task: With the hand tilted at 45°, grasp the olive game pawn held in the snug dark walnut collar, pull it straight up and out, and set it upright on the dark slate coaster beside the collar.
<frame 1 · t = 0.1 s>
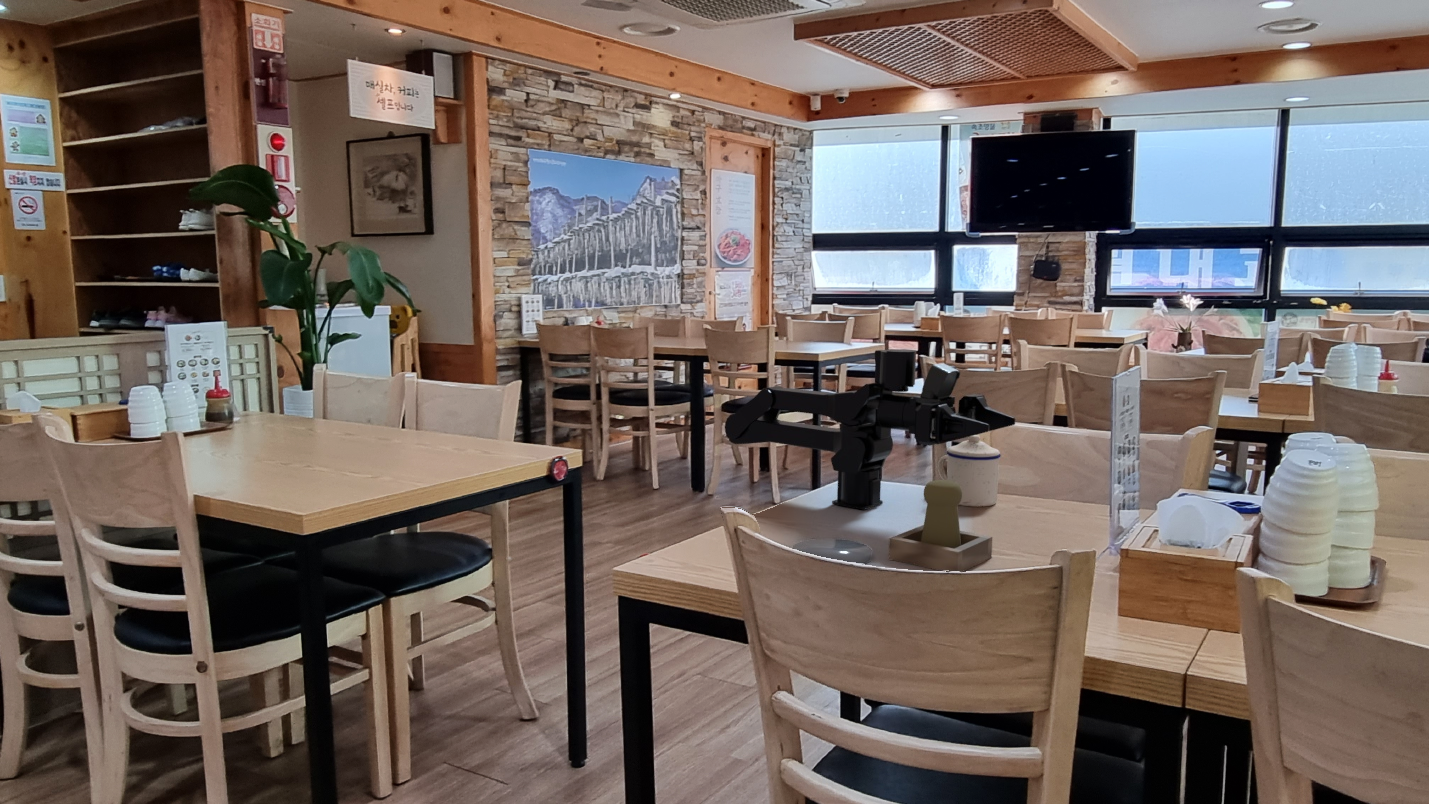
hand: (1002, 424, 154), 17 cm above the table, tool horizontal, fingers open, 9 cm apart
slate coaster: (832, 555, 141), on the table
teacup with lid: (964, 500, 177), on the table
walnut collar: (940, 558, 140), on the table
olive game pawn: (940, 559, 140), resting in walnut collar
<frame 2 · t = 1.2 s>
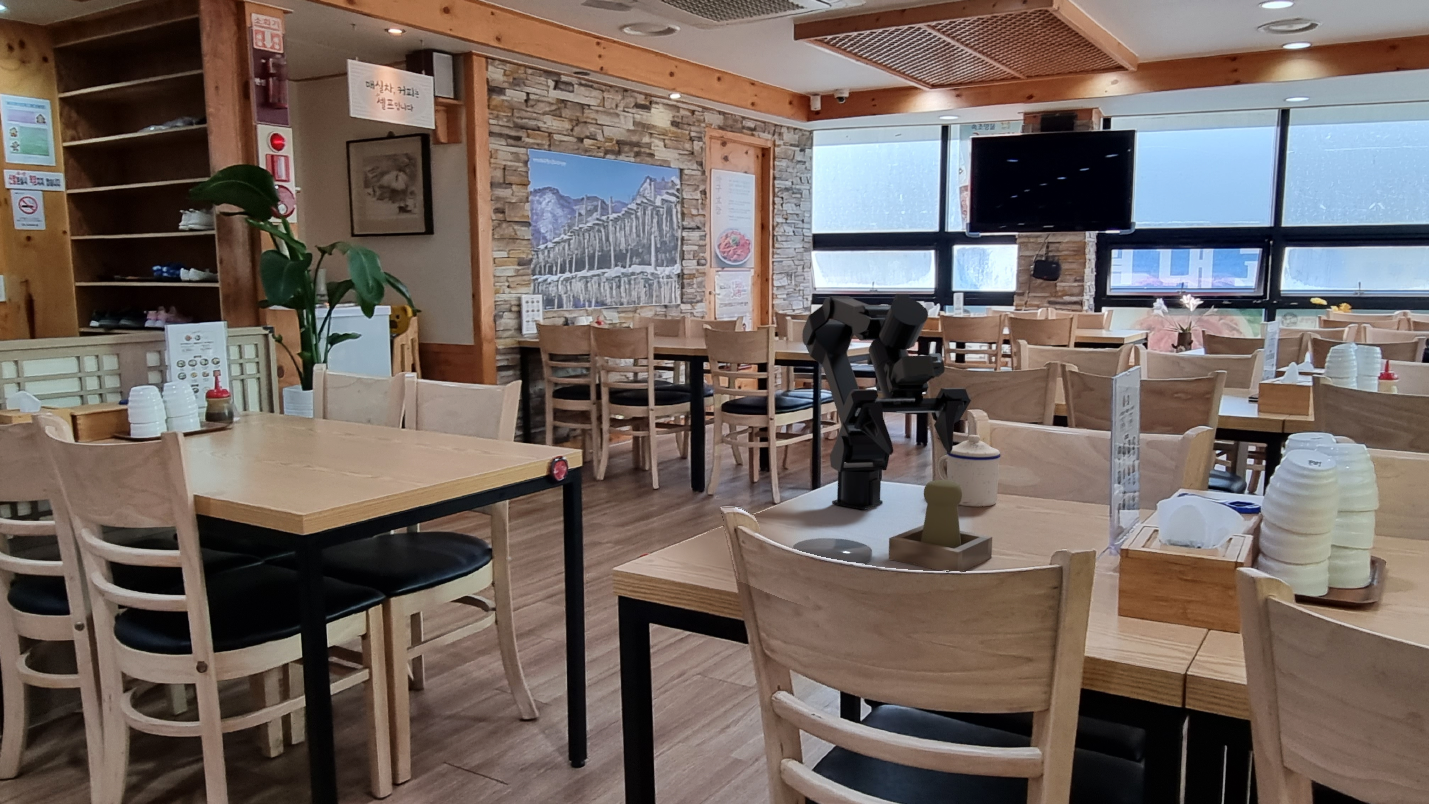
hand: (921, 452, 146), 14 cm above the table, tool tilted 45°, fingers open, 9 cm apart
nothing on the table moved.
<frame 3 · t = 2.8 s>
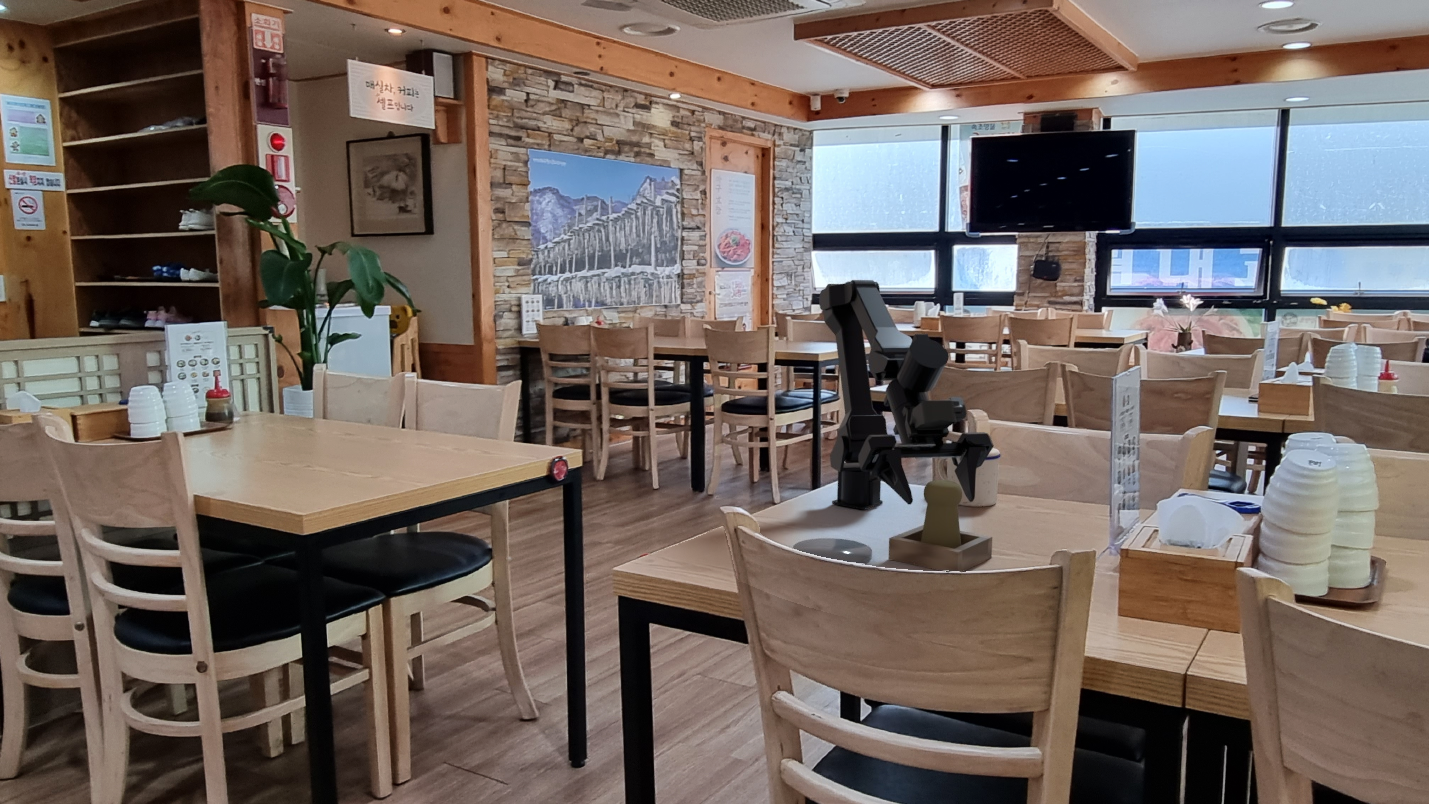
hand: (941, 501, 139), 8 cm above the table, tool tilted 45°, fingers open, 9 cm apart
nothing on the table moved.
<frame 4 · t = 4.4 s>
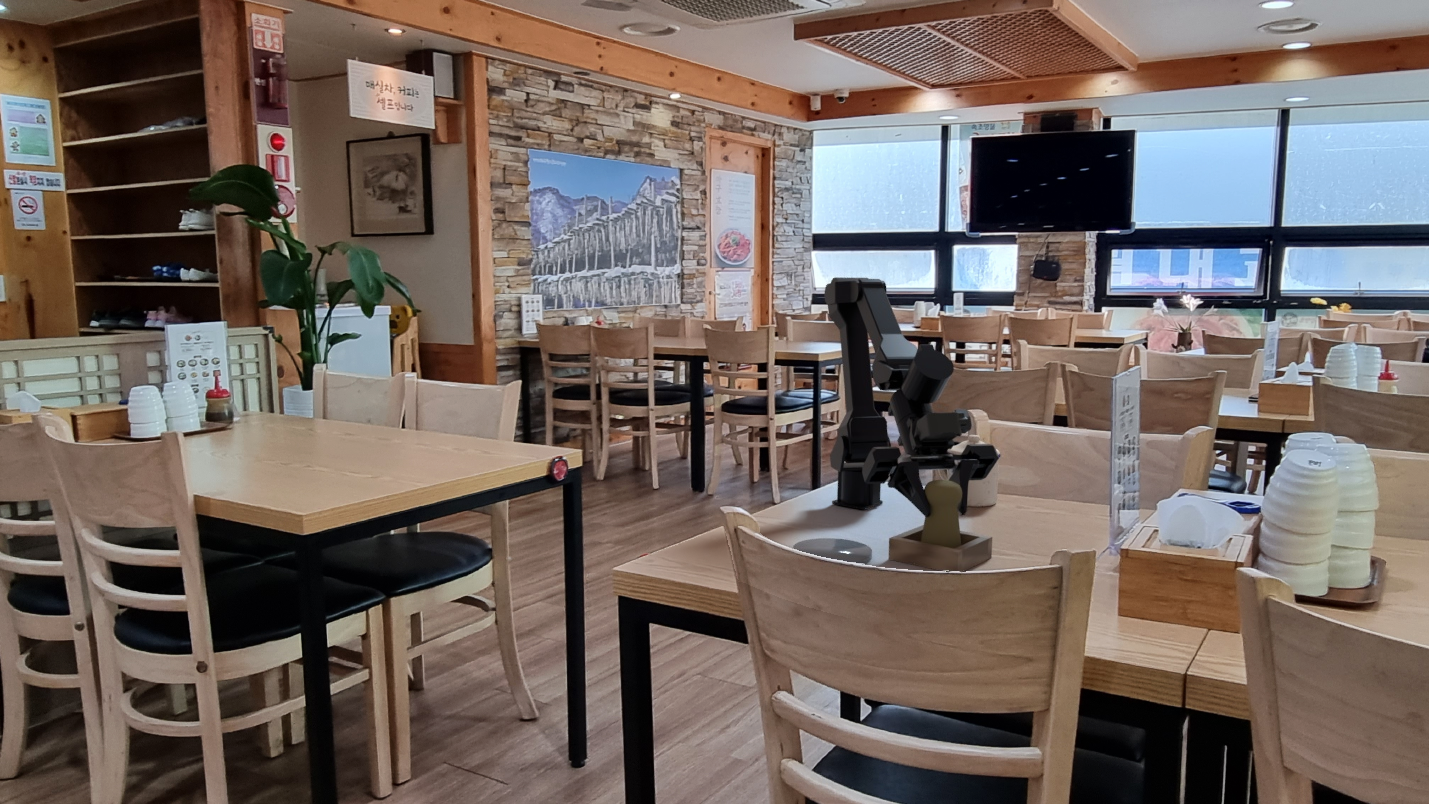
hand: (946, 514, 138), 7 cm above the table, tool tilted 45°, fingers closed on olive game pawn, 5 cm apart
olive game pawn: (940, 559, 140), resting in walnut collar, touching gripper
everything else where it was.
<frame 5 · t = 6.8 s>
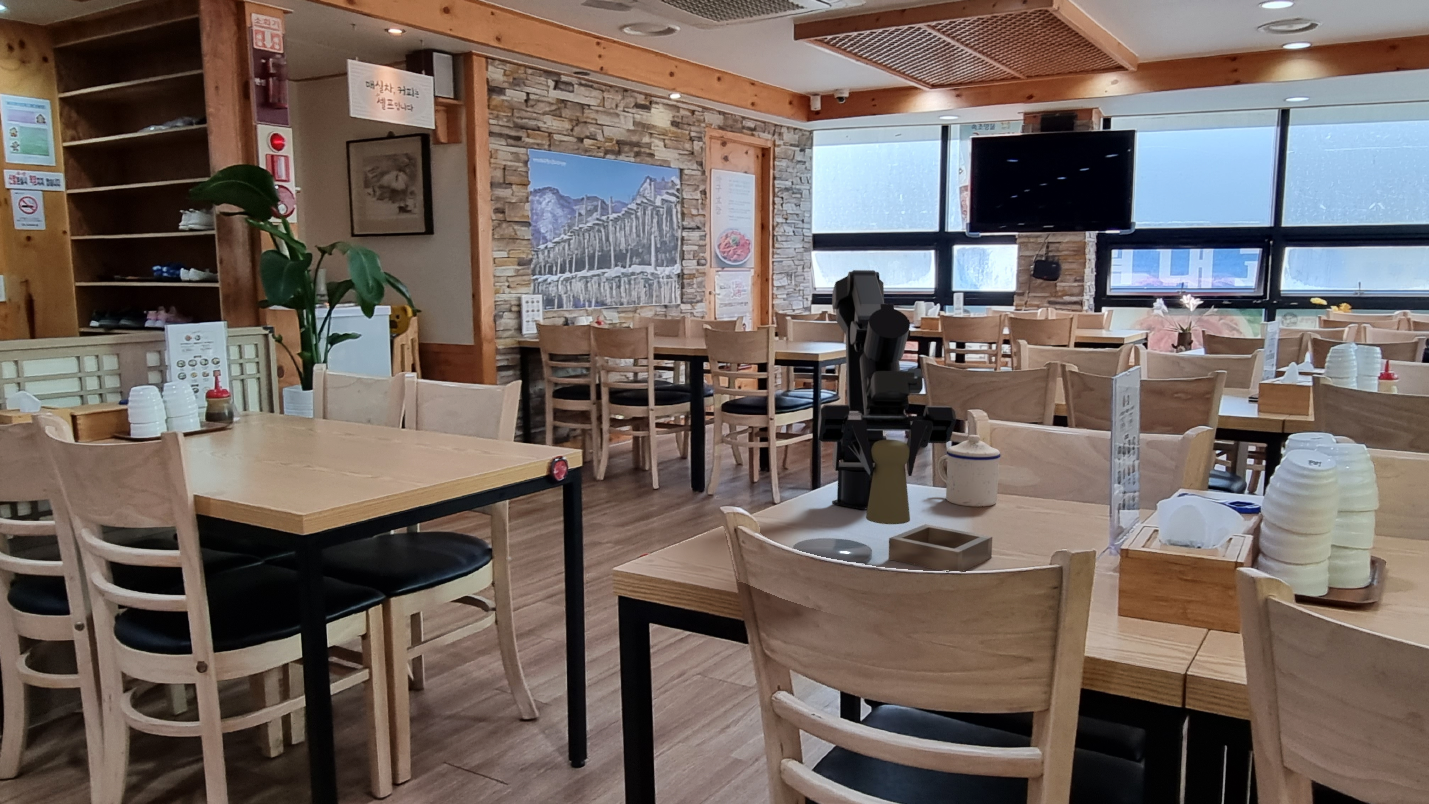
hand: (890, 474, 137), 12 cm above the table, tool tilted 45°, fingers closed on olive game pawn, 5 cm apart
olive game pawn: (887, 520, 139), point 5 cm above the table, touching gripper
everything else where it was.
when the fingers open (9 cm above the table, at t = 9.1 s): olive game pawn drops 1 cm, resting on slate coaster.
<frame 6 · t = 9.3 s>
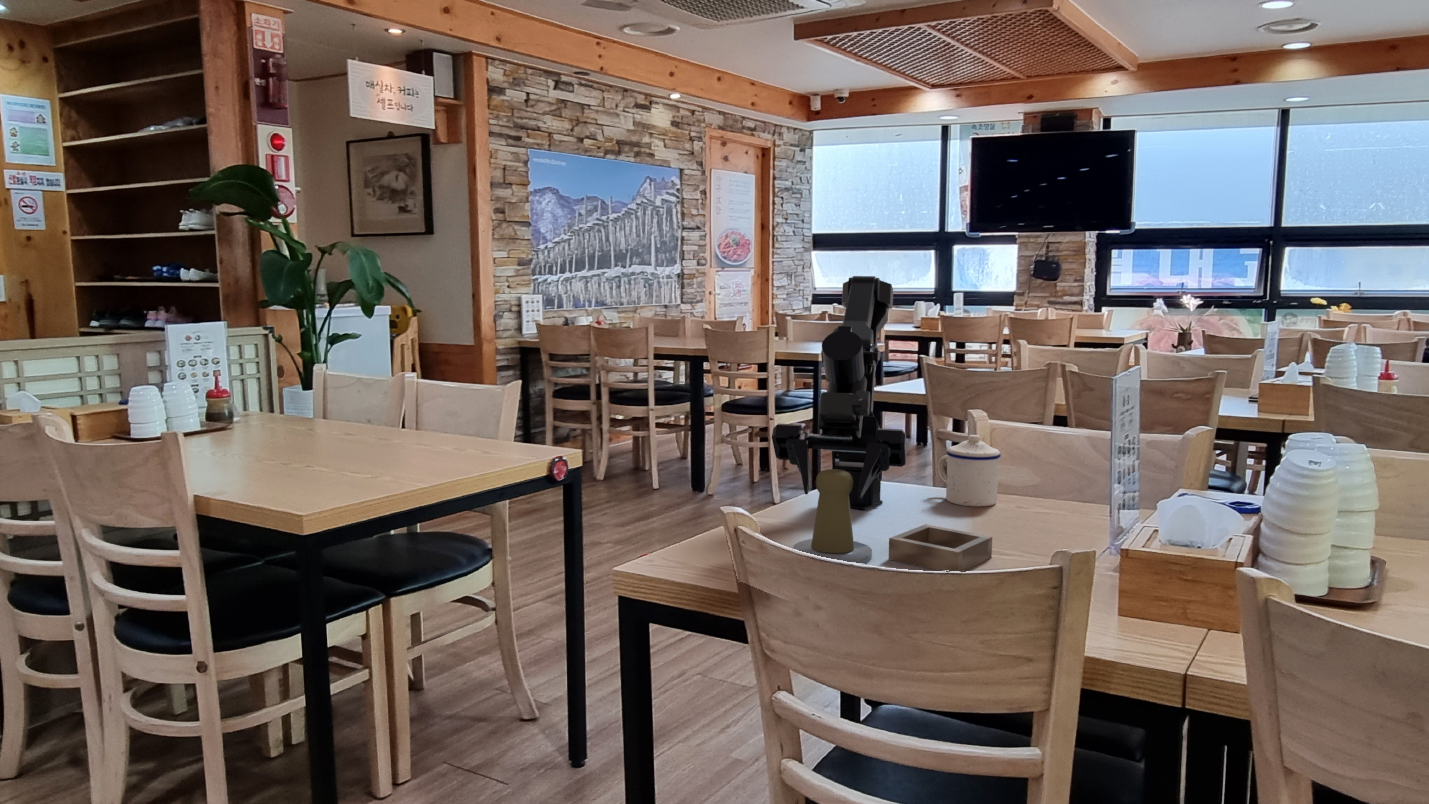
hand: (832, 494, 138), 9 cm above the table, tool tilted 45°, fingers open, 7 cm apart
olive game pawn: (832, 549, 141), point 1 cm above the table, touching slate coaster
everything else where it was.
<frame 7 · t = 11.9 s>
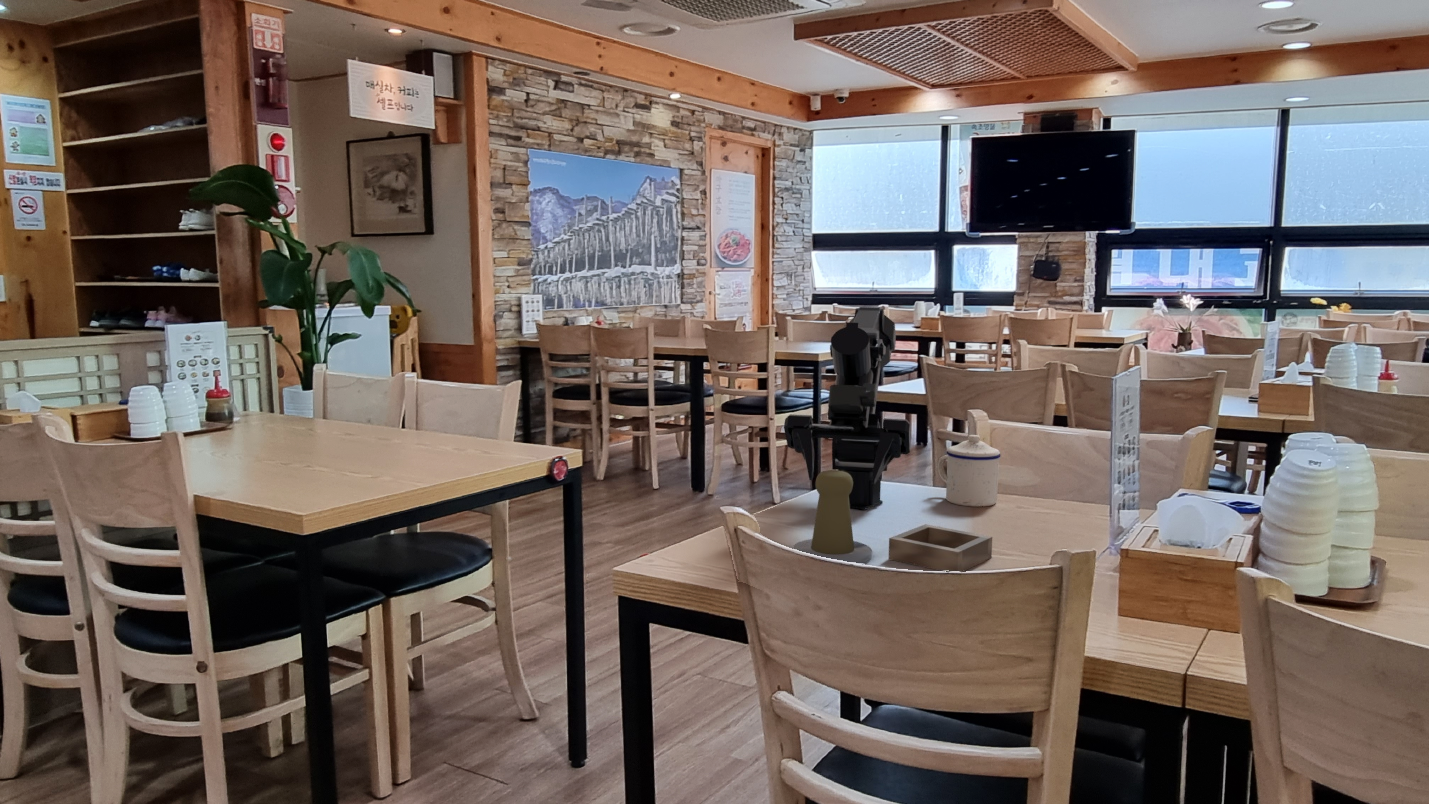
hand: (841, 480, 148), 9 cm above the table, tool tilted 45°, fingers open, 9 cm apart
nothing on the table moved.
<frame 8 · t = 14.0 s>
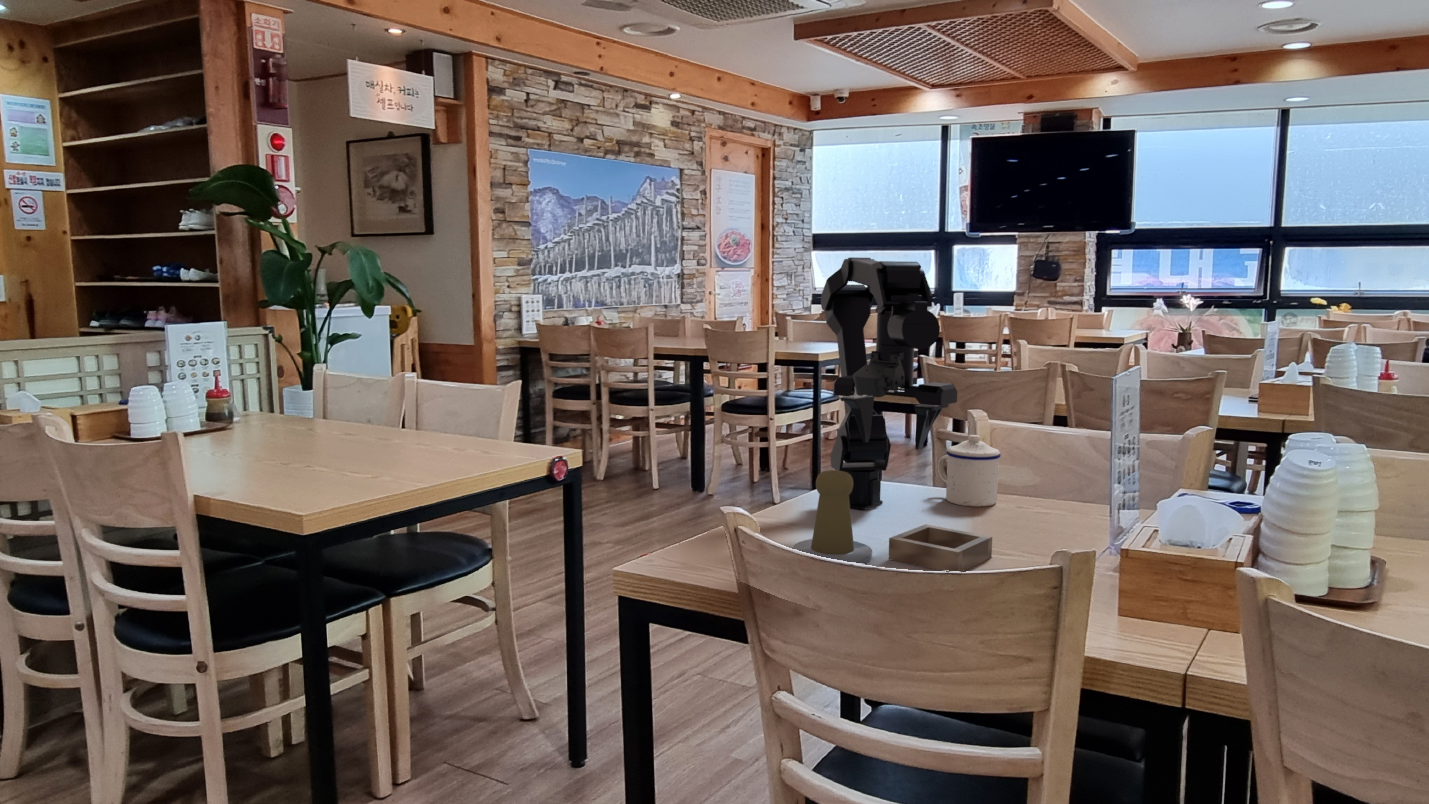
hand: (891, 445, 155), 13 cm above the table, tool pointing down, fingers open, 9 cm apart
nothing on the table moved.
at the end: olive game pawn 0.1 cm off-centre on the slate coaster, point 0.8 cm above the slate coaster's base; olive game pawn tilted 0°; the gripper is holding nothing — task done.
